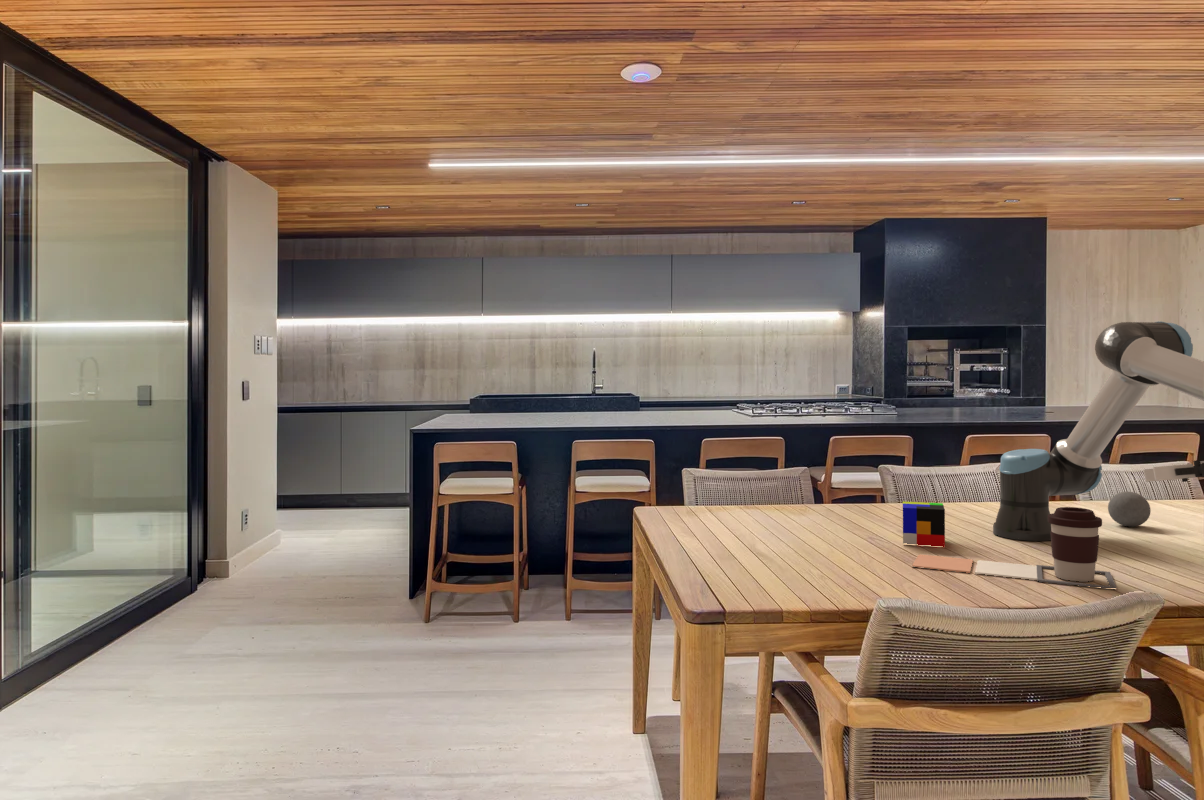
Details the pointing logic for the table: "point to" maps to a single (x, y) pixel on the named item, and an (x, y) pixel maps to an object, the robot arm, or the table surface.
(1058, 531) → the coffee cup
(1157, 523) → the table surface
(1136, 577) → the table surface
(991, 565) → the game board
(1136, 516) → the decorative ball
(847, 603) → the table surface
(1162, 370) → the robot arm
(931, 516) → the puzzle toy
